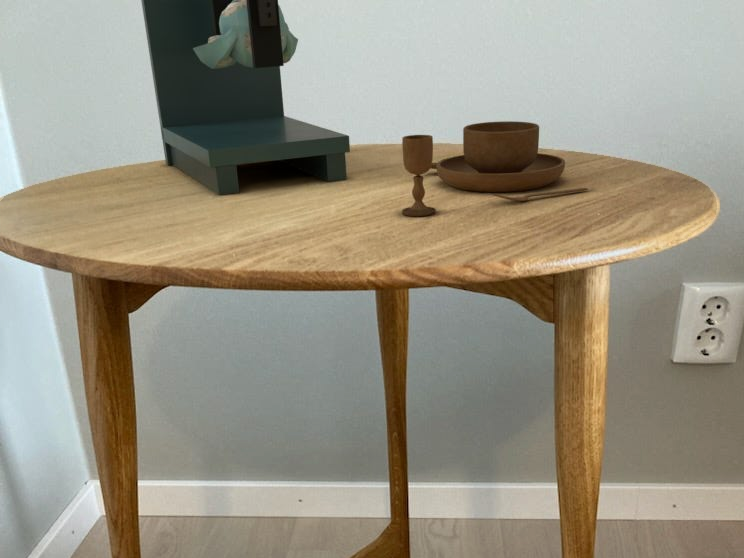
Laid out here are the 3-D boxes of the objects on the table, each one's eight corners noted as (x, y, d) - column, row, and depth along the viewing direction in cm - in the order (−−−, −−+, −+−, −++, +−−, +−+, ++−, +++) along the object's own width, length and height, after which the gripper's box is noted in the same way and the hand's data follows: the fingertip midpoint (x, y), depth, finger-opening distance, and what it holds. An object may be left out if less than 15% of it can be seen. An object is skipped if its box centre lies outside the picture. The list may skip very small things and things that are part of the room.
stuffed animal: (270, 0, 94) (313, -30, 84) (281, 76, 96) (324, 57, 86) (168, 5, 90) (200, -25, 80) (182, 84, 92) (215, 65, 82)
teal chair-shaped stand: (351, 178, 90) (337, -86, 79) (213, 195, 86) (178, -84, 75) (284, 151, 107) (264, -70, 96) (166, 164, 103) (131, -67, 92)
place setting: (611, 188, 81) (617, 116, 78) (415, 219, 74) (413, 141, 71) (502, 162, 95) (503, 100, 92) (327, 186, 87) (322, 119, 84)
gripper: (308, -246, 70) (328, 67, 81) (224, -191, 89) (250, 55, 100) (213, -249, 68) (247, 73, 78) (148, -193, 87) (182, 60, 98)
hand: (248, 63), depth 89 cm, fingers closed on stuffed animal, 12 cm apart
